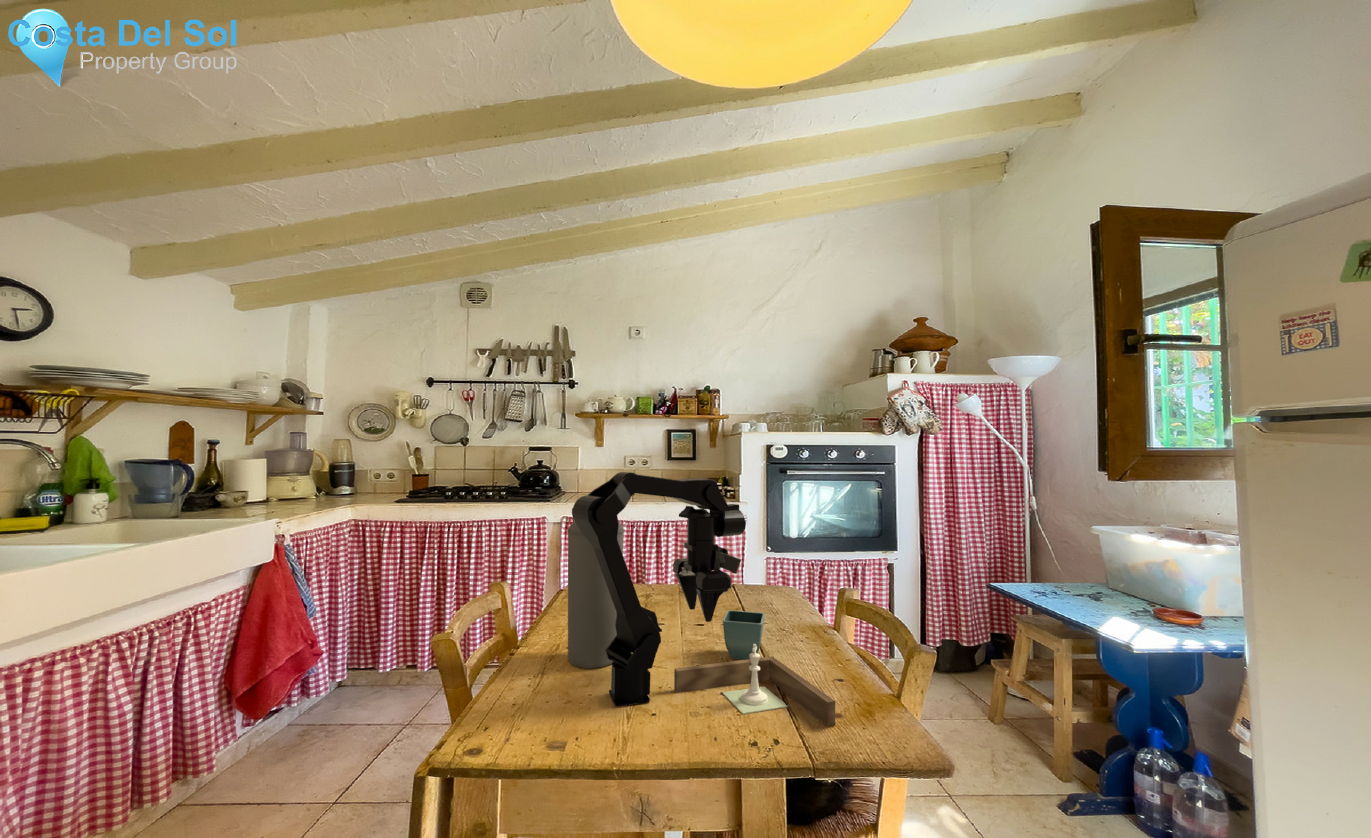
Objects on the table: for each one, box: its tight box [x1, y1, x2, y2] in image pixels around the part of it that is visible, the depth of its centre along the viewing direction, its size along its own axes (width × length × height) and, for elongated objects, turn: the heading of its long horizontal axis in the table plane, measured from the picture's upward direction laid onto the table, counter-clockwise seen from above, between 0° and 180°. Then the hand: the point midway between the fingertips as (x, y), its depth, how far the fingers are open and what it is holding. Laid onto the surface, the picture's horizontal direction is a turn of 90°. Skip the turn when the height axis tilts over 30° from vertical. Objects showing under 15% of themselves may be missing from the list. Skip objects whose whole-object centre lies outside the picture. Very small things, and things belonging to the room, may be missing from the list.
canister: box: [566, 520, 626, 669], centre depth 122 cm, size 13×13×35 cm
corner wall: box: [673, 656, 836, 728], centre depth 100 cm, size 22×22×4 cm
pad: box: [722, 686, 789, 715], centre depth 102 cm, size 9×9×1 cm
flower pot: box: [722, 610, 765, 660], centre depth 125 cm, size 9×9×9 cm
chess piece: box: [741, 644, 768, 705], centre depth 102 cm, size 5×5×10 cm
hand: (700, 615), depth 113 cm, fingers open, 9 cm apart
